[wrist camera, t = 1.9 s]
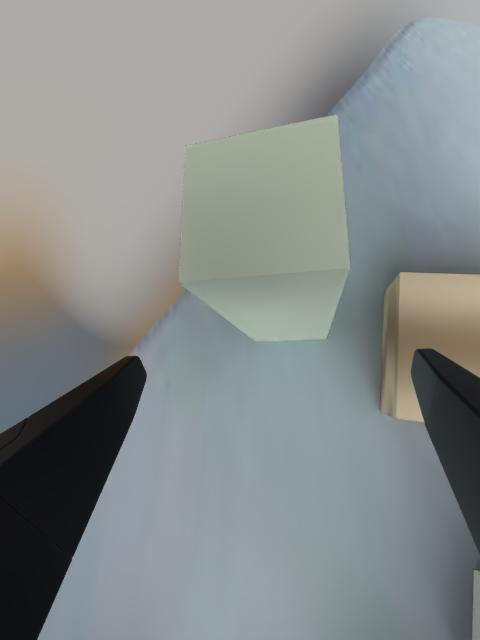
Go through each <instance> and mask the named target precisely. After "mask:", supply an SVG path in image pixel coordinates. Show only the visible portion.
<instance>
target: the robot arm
mask: <svg viewBox="0 0 480 640" xmlns="http://www.w3.org/2000/svg"><path fill="white" fill-rule="evenodd" d="M146 378H147V374H146V371H145V369H144V366H143V364H142V362H141V360H140V358H139V357H138V356H126V357H124V358H123V359H121V360H120V361H118V362H116V363H115V364H113V365H112V366H110V367H108V368H107V369H105V370H103V371H102V372H100V373H99V374H97V375H95V376H94V377H92V378H91V379H89V380H87V381H86V382H84V383H82V384H81V385H79V386H78V387H76V388H74V389H73V390H71V391H70V392H68V393H66V394H65V395H63V396H62V397H60V398H58V399H57V400H55V401H53V402H52V403H50V404H49V405H47V406H45V407H44V408H42V409H40V410H39V411H37V412H36V413H34V414H32V415H31V416H29V418H26V419H24V420H23V421H21V422H19V423H18V424H16V425H14V426H13V427H11V428H9V429H8V430H6V431H5V432H3V433H1V434H0V640H37V639H38V637H39V634H40V632H41V630H42V627H43V625H44V623H45V620H46V618H47V616H48V614H49V611H50V609H51V607H52V604H53V602H54V600H55V598H56V595H57V593H58V591H59V588H60V586H61V584H62V581H63V579H64V577H65V575H66V572H67V570H68V568H69V565H70V563H71V561H72V557H73V556H74V554H75V551H76V549H77V547H78V544H79V542H80V540H81V538H82V535H83V533H84V531H85V528H86V526H87V524H88V522H89V519H90V517H91V515H92V512H93V510H94V508H95V506H96V503H97V501H98V499H99V496H100V494H101V492H102V490H103V487H104V485H105V483H106V480H107V478H108V476H109V473H110V471H111V469H112V467H113V464H114V462H115V460H116V457H117V455H118V453H119V451H120V448H121V446H122V444H123V441H124V439H125V437H126V435H127V432H128V430H129V428H130V425H131V423H132V421H133V418H134V416H135V413H136V410H137V407H138V404H139V401H140V397H141V394H142V391H143V388H144V385H145V382H146ZM411 378H412V382H413V385H414V389H415V392H416V396H417V399H418V403H419V406H420V410H421V413H422V417H423V420H424V423H425V426H426V428H427V431H428V434H429V436H430V438H431V441H432V443H433V445H434V448H435V450H436V452H437V455H438V457H439V459H440V462H441V464H442V467H443V469H444V471H445V474H446V476H447V478H448V481H449V483H450V485H451V488H452V490H453V492H454V495H455V497H456V499H457V502H458V504H459V507H460V509H461V511H462V514H463V516H464V518H465V521H466V523H467V525H468V528H469V530H470V532H471V535H472V537H473V539H474V542H475V544H476V547H477V549H478V551H479V554H480V377H478V376H476V375H475V374H473V373H472V372H470V371H468V370H467V369H465V368H463V367H462V366H460V365H459V364H457V363H455V362H454V361H452V360H451V359H449V358H447V357H446V356H444V355H442V354H441V353H439V352H438V351H436V350H434V349H432V348H418V349H416V350H415V352H414V356H413V361H412V366H411Z"/></svg>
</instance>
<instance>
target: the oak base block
mask: <svg viewBox="0 0 480 640" xmlns="http://www.w3.org/2000/svg"><path fill="white" fill-rule="evenodd" d="M418 348H432V349H434V350H436V351H438V352H439V353H441V354H442V355H444V356H446V357H447V358H449V359H451V360H452V361H454V362H455V363H457V364H459V365H460V366H462V367H463V368H465V369H467V370H468V371H470V372H472V373H473V374H475V375H476V376H478V377H480V275H477V274H444V273H411V272H400V273H399V274H398V275H397V277H396V278H395V279H394V280H393V282H392V283H391V284H390V285H389V287H388V288H387V289H386V290H385V292H384V312H383V341H382V369H381V397H380V412H382V413H384V414H387V415H389V416H392V417H394V418H396V419H403V420H410V421H416V422H423V423H424V420H423V417H422V413H421V410H420V406H419V403H418V399H417V396H416V392H415V389H414V385H413V382H412V378H411V366H412V361H413V356H414V352H415V350H416V349H418Z"/></svg>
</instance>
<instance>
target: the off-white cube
mask: <svg viewBox="0 0 480 640" xmlns="http://www.w3.org/2000/svg"><path fill="white" fill-rule="evenodd" d="M472 640H480V571H477V570H474V589H473V624H472Z"/></svg>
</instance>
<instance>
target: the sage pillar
mask: <svg viewBox="0 0 480 640" xmlns="http://www.w3.org/2000/svg"><path fill="white" fill-rule="evenodd" d="M183 183H184V184H183V201H182V219H181V238H180V256H179V275H178V283H179V284H181V285H182V286H183V287H185V288H186V289H187V290H189V291H190V292H191V293H192V294H194V295H195V296H196V297H198V298H199V299H200V300H202V301H203V302H204V303H206V304H207V305H208V306H210V307H211V308H212V309H214V310H215V311H216V312H218V313H219V314H220V315H221V316H223V317H224V318H225V319H227V320H228V321H229V322H231V323H232V324H233V325H235V326H236V327H237V328H239V329H240V330H241V331H243V332H244V333H245V334H247V335H248V336H249V337H250V338H252V339H253V340H254V341H256V342H259V341H292V340H325V339H327V336H328V333H329V330H330V327H331V324H332V321H333V318H334V315H335V312H336V309H337V306H338V303H339V300H340V298H341V295H342V292H343V289H344V286H345V283H346V280H347V277H348V274H349V271H350V268H351V267H350V255H349V243H348V232H347V220H346V208H345V197H344V185H343V173H342V161H341V150H340V138H339V126H338V115H332V116H327V117H323V118H317V119H313V120H308V121H303V122H298V123H293V124H288V125H283V126H279V127H273V128H268V129H264V130H259V131H254V132H249V133H244V134H239V135H234V136H229V137H224V138H220V139H215V140H210V141H206V142H200V143H195V144H190V145H186V146H185V163H184V182H183Z"/></svg>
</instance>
